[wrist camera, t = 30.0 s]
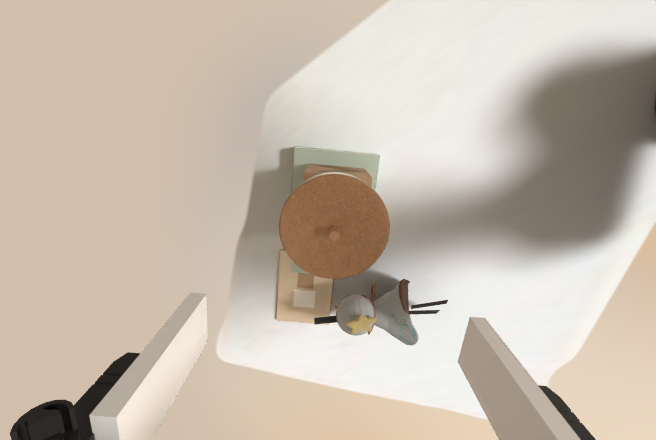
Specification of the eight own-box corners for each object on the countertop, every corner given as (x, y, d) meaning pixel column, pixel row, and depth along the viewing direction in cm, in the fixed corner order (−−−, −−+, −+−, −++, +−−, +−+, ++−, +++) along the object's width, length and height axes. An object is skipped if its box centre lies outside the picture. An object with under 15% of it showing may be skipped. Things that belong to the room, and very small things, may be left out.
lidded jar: (393, 184, 36) (413, 204, 27) (356, 261, 39) (364, 302, 30) (307, 149, 35) (299, 159, 26) (277, 231, 38) (260, 265, 29)
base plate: (377, 154, 45) (379, 155, 43) (367, 231, 48) (368, 235, 47) (295, 146, 45) (294, 147, 43) (291, 224, 48) (289, 228, 46)
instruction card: (335, 255, 50) (335, 256, 49) (328, 323, 54) (328, 325, 53) (280, 250, 50) (279, 251, 49) (276, 318, 53) (276, 320, 53)
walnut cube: (365, 168, 44) (372, 178, 36) (358, 222, 46) (364, 241, 38) (308, 163, 43) (304, 172, 36) (305, 217, 46) (299, 236, 38)
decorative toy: (447, 261, 47) (317, 263, 43) (472, 328, 41) (323, 336, 37) (418, 292, 56) (309, 296, 52) (435, 351, 50) (313, 359, 46)
